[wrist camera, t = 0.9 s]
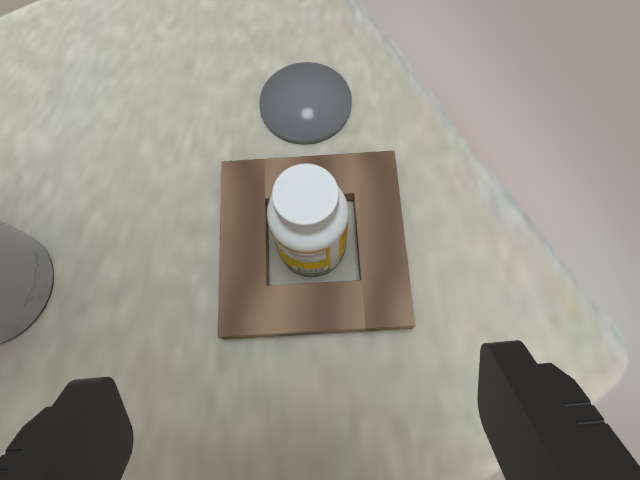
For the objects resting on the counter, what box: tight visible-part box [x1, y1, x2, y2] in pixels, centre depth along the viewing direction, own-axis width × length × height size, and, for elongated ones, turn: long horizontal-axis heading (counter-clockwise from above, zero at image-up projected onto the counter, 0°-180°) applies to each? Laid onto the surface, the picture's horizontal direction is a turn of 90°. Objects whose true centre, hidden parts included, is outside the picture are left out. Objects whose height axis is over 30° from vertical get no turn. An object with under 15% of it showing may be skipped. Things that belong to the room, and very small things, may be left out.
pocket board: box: [218, 151, 415, 339], centre depth 35 cm, size 14×14×2 cm
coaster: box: [260, 62, 351, 144], centre depth 39 cm, size 8×8×1 cm
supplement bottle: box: [267, 164, 349, 276], centre depth 31 cm, size 5×5×10 cm
